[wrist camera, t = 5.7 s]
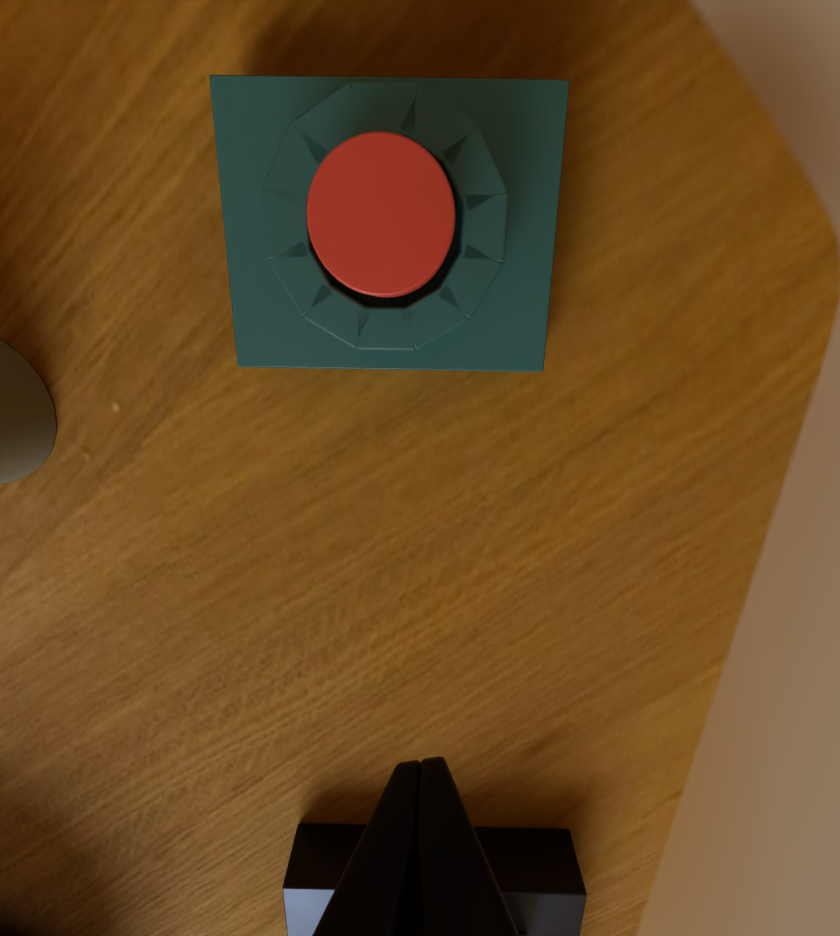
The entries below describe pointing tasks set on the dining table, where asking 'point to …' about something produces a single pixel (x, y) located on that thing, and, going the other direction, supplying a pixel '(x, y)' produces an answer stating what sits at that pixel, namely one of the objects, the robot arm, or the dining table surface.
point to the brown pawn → (23, 417)
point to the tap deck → (508, 853)
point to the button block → (474, 239)
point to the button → (381, 214)
